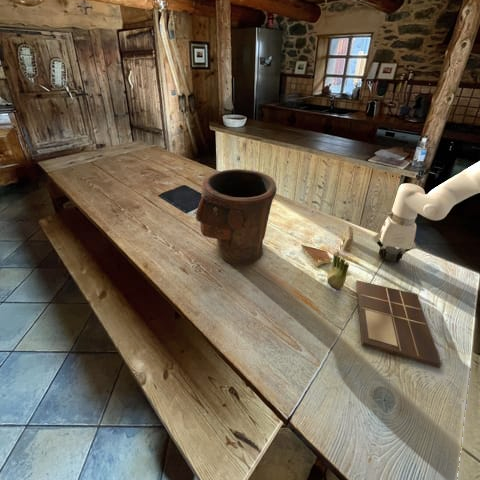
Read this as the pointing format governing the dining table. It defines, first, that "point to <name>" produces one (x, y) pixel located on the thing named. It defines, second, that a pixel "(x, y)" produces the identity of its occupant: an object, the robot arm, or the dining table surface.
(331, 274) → the fennel bulb
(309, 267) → the dining table surface
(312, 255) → the shard
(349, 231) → the tan figurine
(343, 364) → the dining table surface
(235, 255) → the clay pot
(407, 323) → the game board
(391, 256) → the slate stone
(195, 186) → the dining table surface
